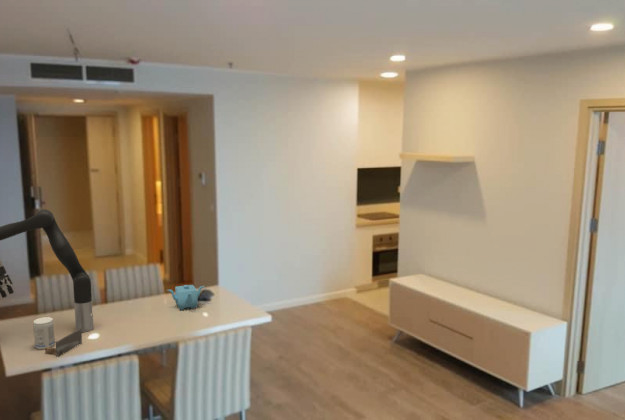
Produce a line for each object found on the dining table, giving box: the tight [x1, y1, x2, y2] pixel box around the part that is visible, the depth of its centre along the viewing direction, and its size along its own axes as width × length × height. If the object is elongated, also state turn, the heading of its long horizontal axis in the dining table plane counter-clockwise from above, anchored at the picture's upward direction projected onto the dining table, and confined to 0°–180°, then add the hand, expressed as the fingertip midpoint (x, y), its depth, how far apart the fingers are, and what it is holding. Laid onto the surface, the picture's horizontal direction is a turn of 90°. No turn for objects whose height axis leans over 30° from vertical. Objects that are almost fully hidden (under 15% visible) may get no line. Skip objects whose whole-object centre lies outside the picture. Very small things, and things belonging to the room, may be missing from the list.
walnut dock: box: [44, 329, 83, 358], centre depth 274 cm, size 9×18×8 cm, turn 166°
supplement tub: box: [33, 316, 56, 350], centre depth 277 cm, size 10×10×15 cm
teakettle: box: [166, 284, 205, 311], centre depth 342 cm, size 19×19×15 cm
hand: (8, 295), depth 279 cm, fingers open, 8 cm apart
